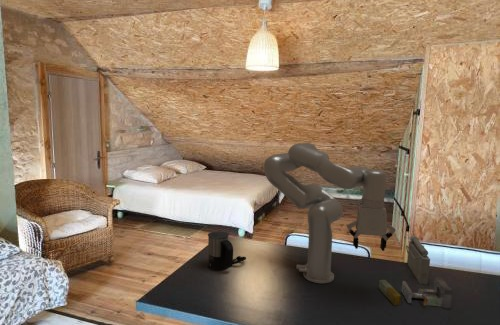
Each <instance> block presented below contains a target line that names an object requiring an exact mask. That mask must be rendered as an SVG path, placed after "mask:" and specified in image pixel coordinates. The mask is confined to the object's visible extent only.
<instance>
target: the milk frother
mask: <svg viewBox="0 0 500 325" xmlns="http://www.w3.org/2000/svg"><path fill="white" fill-rule="evenodd" d="M207 236H208V237H207V238H208V265H207V268H208V269H209V270H211V271H214V272H215V271H216V272H218V271H220V272H221V271H224V270H225V271H226V270H227V269H228V268H232V267H233V265H235V264H236V265H237V264H239V263H243V262H244V261H246V260H247V257H246V256H241V255H238V256H236V257H235V258H234V246H233V244H232V242H231V241H230V240H229V236H230V234H229V232H226V231H221V230H216V231H211V232H209V233H208V234H207Z"/></svg>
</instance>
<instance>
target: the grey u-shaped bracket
mask: <svg viewBox="0 0 500 325" xmlns="http://www.w3.org/2000/svg"><path fill="white" fill-rule="evenodd" d="M433 282H434V283H433V289H431V288H430V289H428V288H420V289H421V290H422V292H423V293H424V294H434V295H437V297H433V296H429V297H427V296H426V297H427V300H426V306H431V307H441V308H442V309H451V306H452V299H453V289H452V288H451V286H449V284H447V282H446V281H445V280H444V278H442V277H436V276H435V277H434V281H433Z"/></svg>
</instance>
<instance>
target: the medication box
mask: <svg viewBox="0 0 500 325" xmlns="http://www.w3.org/2000/svg"><path fill="white" fill-rule="evenodd" d="M378 289H379V290H380V291H381V293H382V294H383V295H384V296H385V297H386V298H387V299H388V300H389V301H390V303H391V304H392V305H393V306H400V305H402V304H401V303H402V302H401V301H402V295H401V294H400V293H399V292H398V291H397V289H395V288H394V286H393V285H391V284H390V282H388V281H387V280H386V279H383V278H382V279H379V280H378Z"/></svg>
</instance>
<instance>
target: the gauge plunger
mask: <svg viewBox="0 0 500 325" xmlns="http://www.w3.org/2000/svg"><path fill="white" fill-rule="evenodd" d="M421 289H422V288H418V290H417V292H413V291H412V289H411V287H409V285H408V283H407V282H406V280H402V283H401V293H402V295H403V296H404V298H405V300H406V302H407V304H412V299H423V306H424V307H425V306H427V305H426V300H427V297H429V296H433V297H437V295H434V294H424V293H423V292H422V290H421ZM426 296H427V297H426Z"/></svg>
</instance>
